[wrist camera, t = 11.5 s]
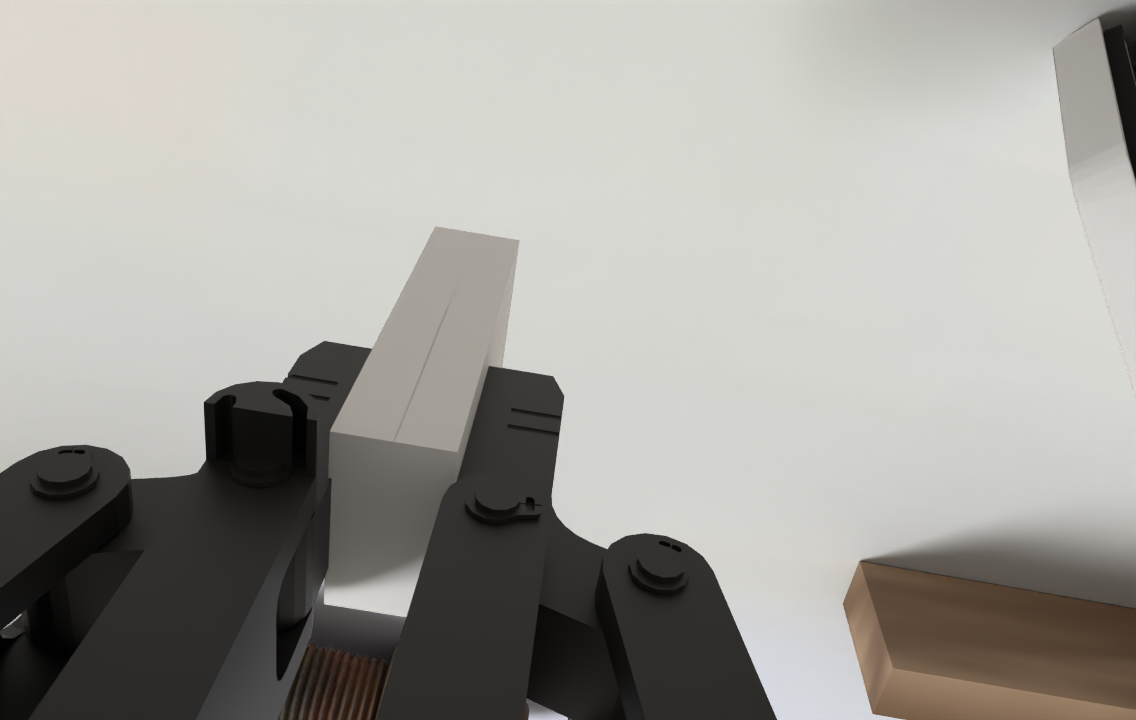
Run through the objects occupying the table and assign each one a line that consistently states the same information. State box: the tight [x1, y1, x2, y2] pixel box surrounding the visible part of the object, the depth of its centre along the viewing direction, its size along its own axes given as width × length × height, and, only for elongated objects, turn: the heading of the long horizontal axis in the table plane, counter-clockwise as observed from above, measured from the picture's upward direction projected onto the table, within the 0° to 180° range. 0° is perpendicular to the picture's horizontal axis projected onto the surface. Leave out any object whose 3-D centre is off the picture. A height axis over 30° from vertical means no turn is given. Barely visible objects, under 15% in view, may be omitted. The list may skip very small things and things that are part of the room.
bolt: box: [278, 643, 529, 720], centre depth 35 cm, size 6×5×15 cm
